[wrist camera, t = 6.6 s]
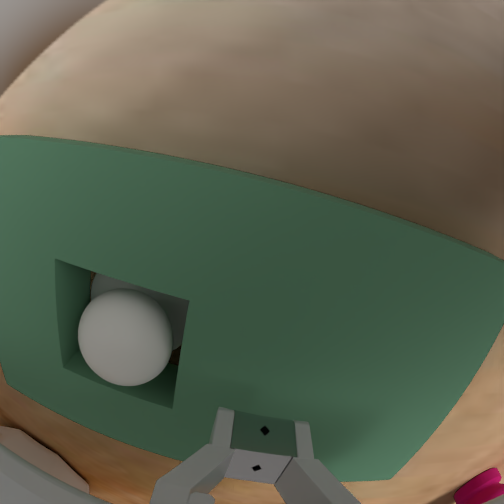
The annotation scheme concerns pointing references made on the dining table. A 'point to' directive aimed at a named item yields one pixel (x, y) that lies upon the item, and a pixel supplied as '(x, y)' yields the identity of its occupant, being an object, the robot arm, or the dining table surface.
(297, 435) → the robot arm
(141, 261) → the putting mat
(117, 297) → the ball
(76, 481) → the watering can
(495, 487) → the pepper mill
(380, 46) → the dining table surface
